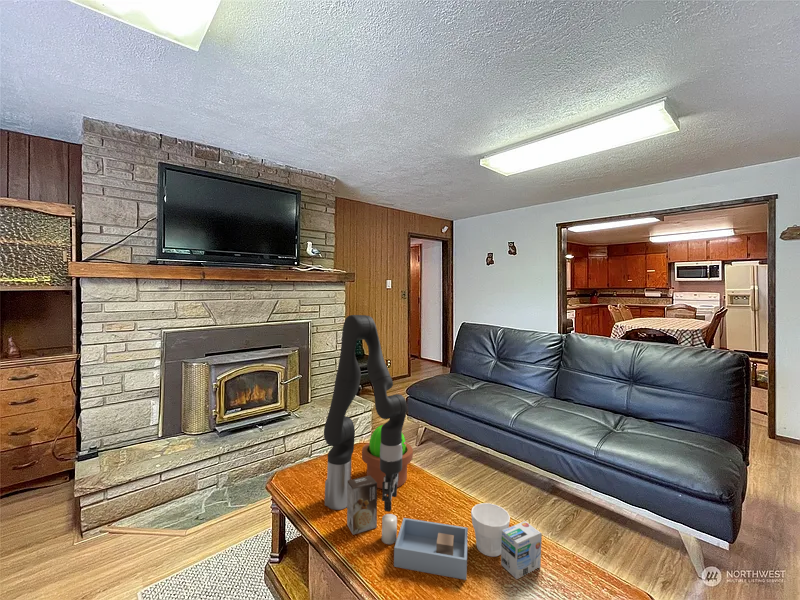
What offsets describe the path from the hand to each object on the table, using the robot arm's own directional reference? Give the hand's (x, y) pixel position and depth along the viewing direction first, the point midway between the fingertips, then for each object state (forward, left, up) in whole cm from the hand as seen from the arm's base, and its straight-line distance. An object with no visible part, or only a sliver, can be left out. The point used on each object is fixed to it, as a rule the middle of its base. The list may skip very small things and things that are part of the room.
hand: (390, 503), depth 118 cm
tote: (+15, -4, -12) cm, 20 cm away
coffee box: (-11, +4, -12) cm, 17 cm away
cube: (+19, -4, -11) cm, 22 cm away
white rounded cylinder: (0, 0, -12) cm, 12 cm away
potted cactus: (-10, +37, -12) cm, 40 cm away
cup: (+33, +4, -12) cm, 35 cm away
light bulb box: (+42, -2, -12) cm, 44 cm away
